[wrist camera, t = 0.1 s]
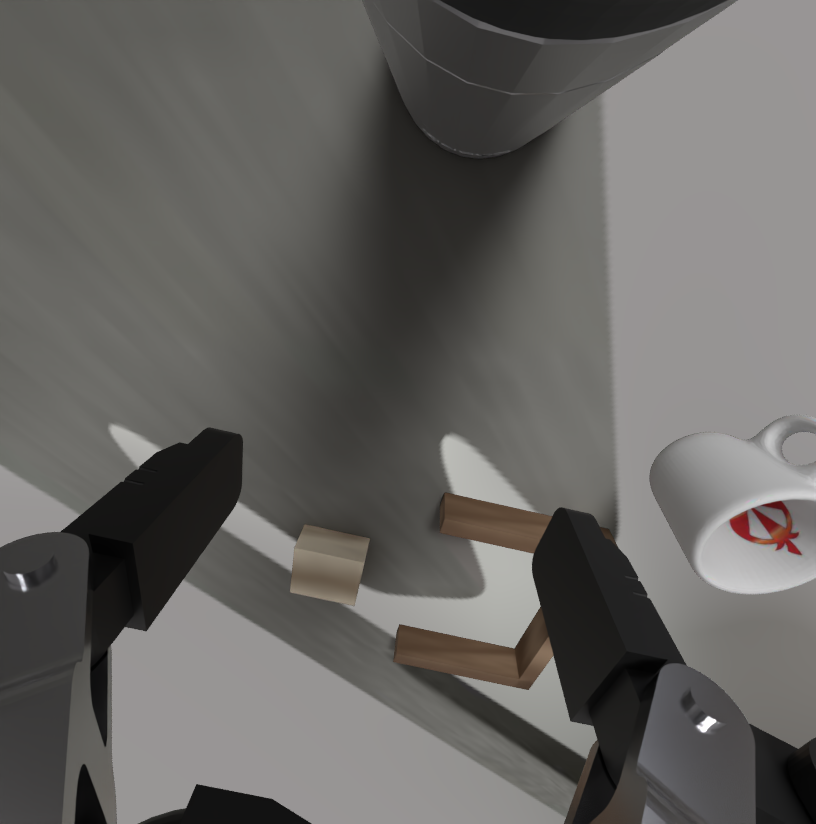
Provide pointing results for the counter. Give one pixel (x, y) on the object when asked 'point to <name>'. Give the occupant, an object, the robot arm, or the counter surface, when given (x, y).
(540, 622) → the wooden u-shaped bracket
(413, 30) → the robot arm
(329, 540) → the maple tile
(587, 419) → the counter surface
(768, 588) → the cup
